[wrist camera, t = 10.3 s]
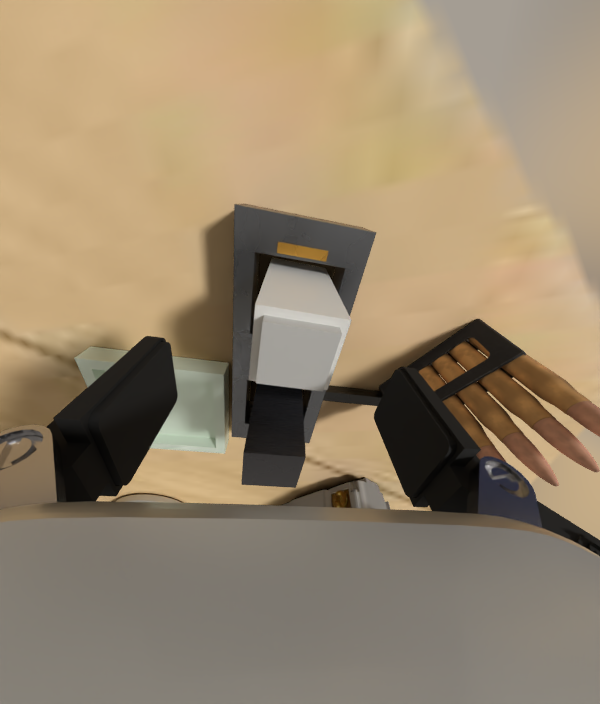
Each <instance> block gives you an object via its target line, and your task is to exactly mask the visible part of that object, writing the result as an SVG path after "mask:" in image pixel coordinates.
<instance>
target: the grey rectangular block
mask: <svg viewBox="0 0 600 704" xmlns="http://www.w3.org/2000/svg"><path fill="white" fill-rule="evenodd" d="M350 323H351V318H350V316H349V314H348V312H347V310H346V308H345V306H344V304H343V302H342V300H341V298H340V296H339V294H338V292H337V290H336V288H335V286H334V284H333V282H332V280H331V278H330V276H329V274H328V272H327V270H326V268H324V267H318V266H313V265H308V264H303V263H298V262H293V261H288V260H283V259H277V258H272V259H271V262H270V265H269V267H268V270H267V273H266V276H265V278H264V281H263V284H262V287H261V290H260V292H259V295H258V298H257V301H256V303H255V313H254V324H253V335H252V347H251V358H250V370H249V380H251V381H256V383H257V384H265V385H273V386H281V387H289V388H298V389H306V390H314V391H322V392H323V390H327V389H328V386H329V384H330V381H331V378H332V375H333V372H334V369H335V366H336V363H337V360H338V358H339V355H340V352H341V349H342V346H343V343H344V340H345V337H346V335H347V332H348V329H349V326H350Z"/></svg>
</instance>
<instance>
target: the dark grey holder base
mask: <svg viewBox="0 0 600 704" xmlns="http://www.w3.org/2000/svg"><path fill="white" fill-rule="evenodd" d="M375 235H376V232H373V231H370V230H368V229H365V228H362V227H357V226H352V225H347V224H342V223H337V222H332V221H327V220H322V219H317V218H312V217H307V216H302V215H297V214H293V213H288V212H283V211H278V210H273V209H268V208H263V207H258V206H253V205H248V204H235V213H234V294H233V376H232V437H242V438H246V443H245V448H244V455H243V471H242V485H259V486H277V487H294V488H296V485H297V482H298V479H299V476H300V473H301V470H302V467H303V463H304V460H305V443H309V442H310V439H311V436H312V433H313V429H314V426H315V423H316V420H317V417H318V414H319V411H320V407H321V404H322V401H323V400H325V401H335V402H344V403H354V404H363V405H373V406H378V405H379V402H380V400H381V398H382V396H383V395H382V393H381V391H373V390H364V389H356V388H347V387H338V386H328V389H327V390H323V392H322V391H314V390H306V389H305V391H304V395H303V398H302V389H298V388H289V387H281V386H273V385H265V384H257V386H256V392H255V397H254V401H250V387H251V380H249V370H250V358H251V347H252V335H253V324H254V313H255V303H256V301H257V288H258V274H259V260H260V253H262V254H268V255H274V256H279V257H285V258H291V259H296V260H302V261H308V262H313V263H319V264H324V265H330V266H335V270H334V274H333V278H332V282H333V284H334V286H335V288H336V290H337V292H338V294H339V296H340V298H341V300H342V302H343V304H344V306H345V308H346V310H347V312H348V314H349V316H350V313H351V310H352V307H353V304H354V301H355V298H356V295H357V291H358V288H359V285H360V282H361V279H362V276H363V273H364V269H365V266H366V263H367V260H368V257H369V254H370V251H371V247H372V244H373V241H374V238H375Z"/></svg>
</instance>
